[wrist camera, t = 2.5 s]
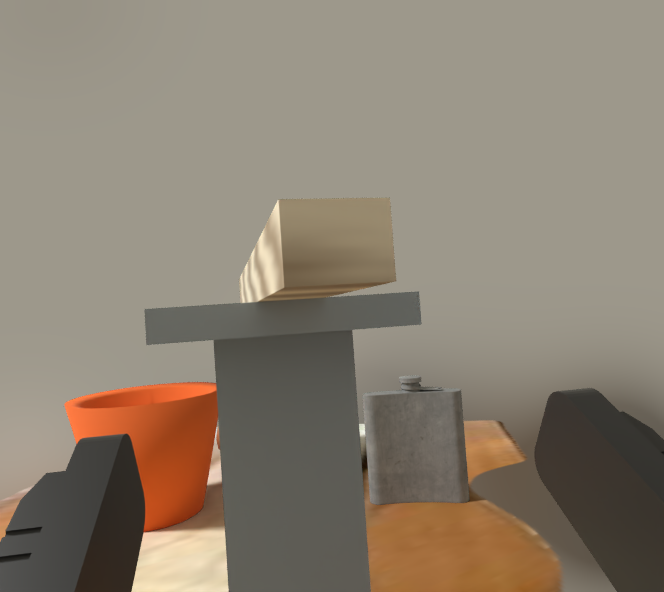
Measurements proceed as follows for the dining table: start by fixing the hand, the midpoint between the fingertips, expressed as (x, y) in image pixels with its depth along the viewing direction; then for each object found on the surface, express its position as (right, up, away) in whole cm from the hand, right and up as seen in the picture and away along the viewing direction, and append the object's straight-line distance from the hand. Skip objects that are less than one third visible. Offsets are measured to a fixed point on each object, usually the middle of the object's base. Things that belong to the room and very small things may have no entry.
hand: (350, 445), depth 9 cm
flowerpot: (-30, -34, +73) cm, 86 cm away
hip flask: (+14, -30, +71) cm, 78 cm away
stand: (-2, -30, +30) cm, 42 cm away
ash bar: (-4, +2, +23) cm, 24 cm away
